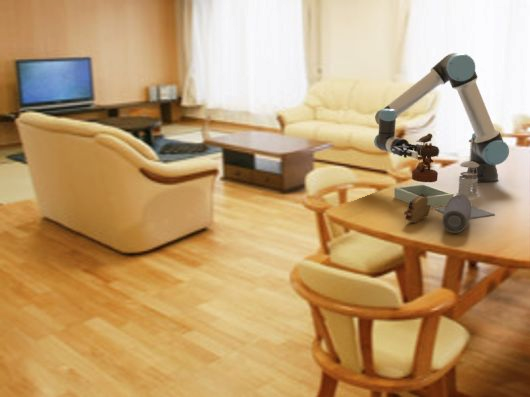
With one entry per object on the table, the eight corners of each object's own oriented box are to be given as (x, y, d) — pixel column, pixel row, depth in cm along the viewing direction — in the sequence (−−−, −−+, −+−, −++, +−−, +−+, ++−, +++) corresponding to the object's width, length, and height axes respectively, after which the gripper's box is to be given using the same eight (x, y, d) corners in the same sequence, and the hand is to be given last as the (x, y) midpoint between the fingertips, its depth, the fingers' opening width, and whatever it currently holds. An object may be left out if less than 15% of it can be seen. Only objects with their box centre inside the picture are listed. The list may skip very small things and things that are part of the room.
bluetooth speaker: (446, 217, 226) (447, 192, 224) (471, 219, 223) (473, 194, 220) (439, 235, 206) (441, 207, 203) (467, 237, 202) (469, 210, 200)
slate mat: (467, 205, 242) (467, 204, 242) (494, 215, 227) (494, 213, 227) (435, 209, 237) (435, 208, 236) (461, 220, 222) (461, 219, 222)
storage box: (423, 193, 262) (424, 183, 261) (452, 204, 244) (453, 194, 243) (394, 197, 257) (394, 187, 256) (421, 208, 239) (422, 198, 238)
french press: (452, 195, 258) (455, 139, 252) (463, 190, 266) (466, 136, 260) (473, 199, 251) (477, 141, 245) (484, 193, 260) (488, 138, 253)
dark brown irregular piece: (432, 184, 238) (432, 136, 234) (406, 182, 245) (406, 135, 240) (444, 177, 250) (445, 130, 246) (419, 175, 257) (419, 130, 252)
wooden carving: (420, 215, 230) (421, 191, 227) (431, 217, 227) (432, 192, 224) (401, 225, 217) (401, 200, 215) (412, 228, 215) (413, 201, 212)
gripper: (418, 152, 268) (449, 160, 248) (376, 156, 261) (404, 165, 241) (419, 136, 266) (450, 143, 246) (376, 139, 259) (405, 147, 239)
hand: (427, 154), depth 243 cm, fingers closed on dark brown irregular piece, 10 cm apart
